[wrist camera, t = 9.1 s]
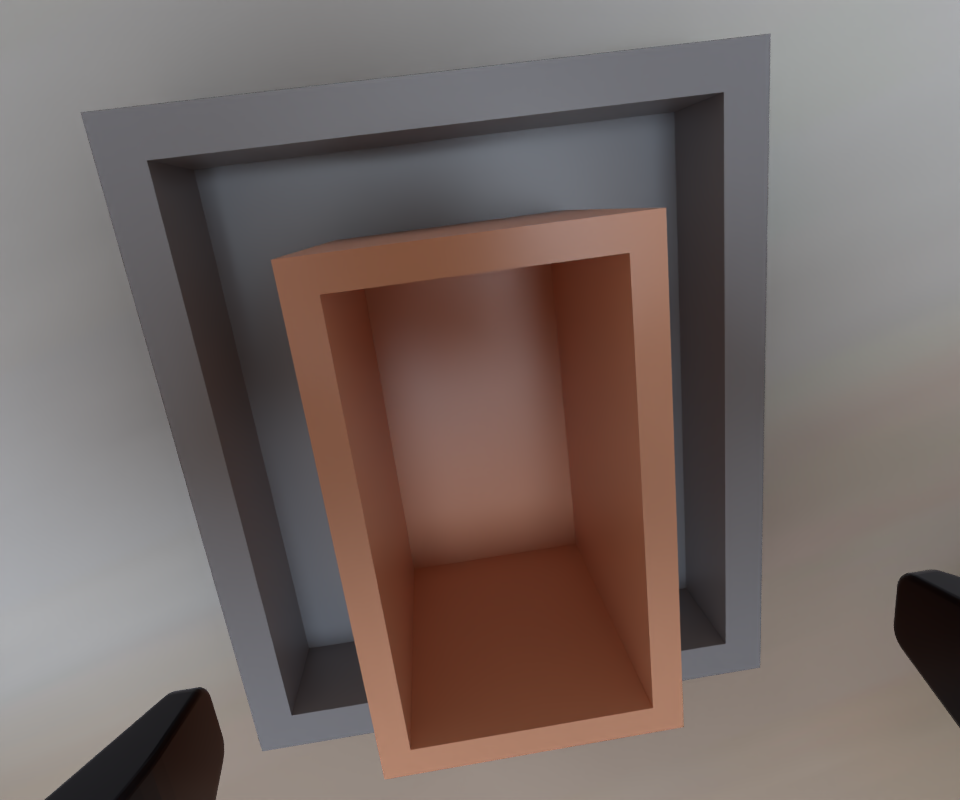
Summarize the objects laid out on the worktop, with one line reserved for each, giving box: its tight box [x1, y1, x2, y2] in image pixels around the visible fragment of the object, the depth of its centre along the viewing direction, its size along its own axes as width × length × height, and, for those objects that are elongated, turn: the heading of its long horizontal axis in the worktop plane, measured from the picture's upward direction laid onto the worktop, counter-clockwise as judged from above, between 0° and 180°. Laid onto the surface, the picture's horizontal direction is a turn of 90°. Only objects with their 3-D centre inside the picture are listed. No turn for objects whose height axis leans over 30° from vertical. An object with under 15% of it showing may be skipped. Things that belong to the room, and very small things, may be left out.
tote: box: [271, 208, 684, 779], centre depth 14 cm, size 6×10×7 cm, turn 7°
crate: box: [81, 34, 770, 751], centre depth 17 cm, size 14×16×4 cm
